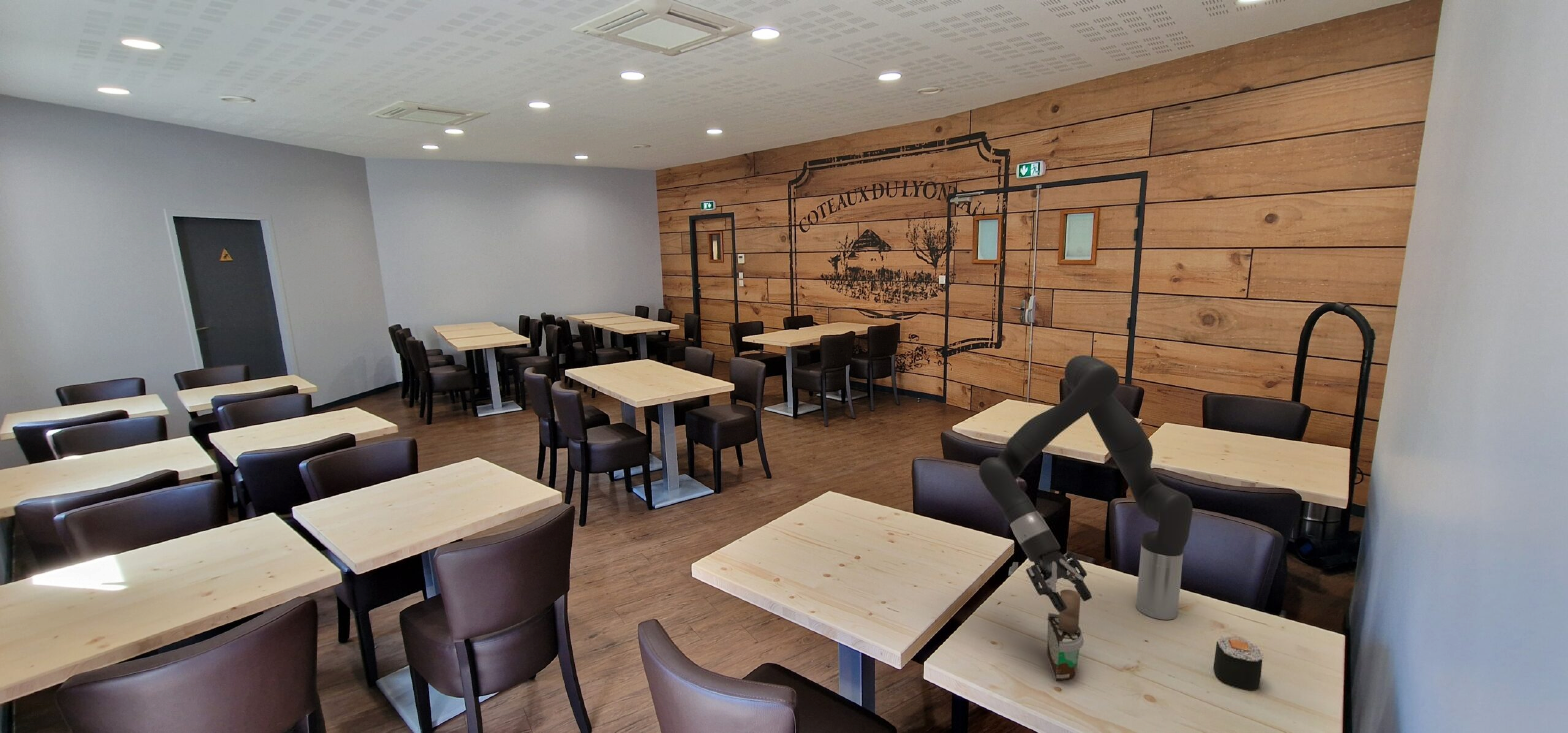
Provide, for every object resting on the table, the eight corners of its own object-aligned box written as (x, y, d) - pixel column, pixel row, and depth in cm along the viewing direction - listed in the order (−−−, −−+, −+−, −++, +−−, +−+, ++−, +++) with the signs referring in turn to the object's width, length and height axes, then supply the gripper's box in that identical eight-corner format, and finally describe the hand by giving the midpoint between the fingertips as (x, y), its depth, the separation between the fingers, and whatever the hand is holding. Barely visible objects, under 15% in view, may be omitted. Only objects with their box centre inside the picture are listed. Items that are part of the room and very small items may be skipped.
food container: (1088, 689, 133) (1091, 646, 131) (1057, 685, 134) (1060, 643, 133) (1073, 654, 145) (1076, 614, 143) (1045, 651, 146) (1047, 611, 144)
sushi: (1217, 684, 134) (1221, 650, 133) (1210, 662, 141) (1214, 630, 140) (1264, 695, 131) (1268, 660, 129) (1254, 671, 138) (1258, 638, 137)
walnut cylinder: (1066, 621, 141) (1068, 587, 139) (1082, 629, 137) (1084, 595, 136) (1054, 626, 139) (1056, 592, 137) (1070, 635, 135) (1072, 600, 134)
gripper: (1023, 536, 137) (1066, 609, 129) (1065, 522, 144) (1108, 590, 137) (1003, 549, 143) (1043, 620, 135) (1044, 535, 150) (1084, 601, 142)
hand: (1076, 605), depth 136 cm, fingers open, 8 cm apart
